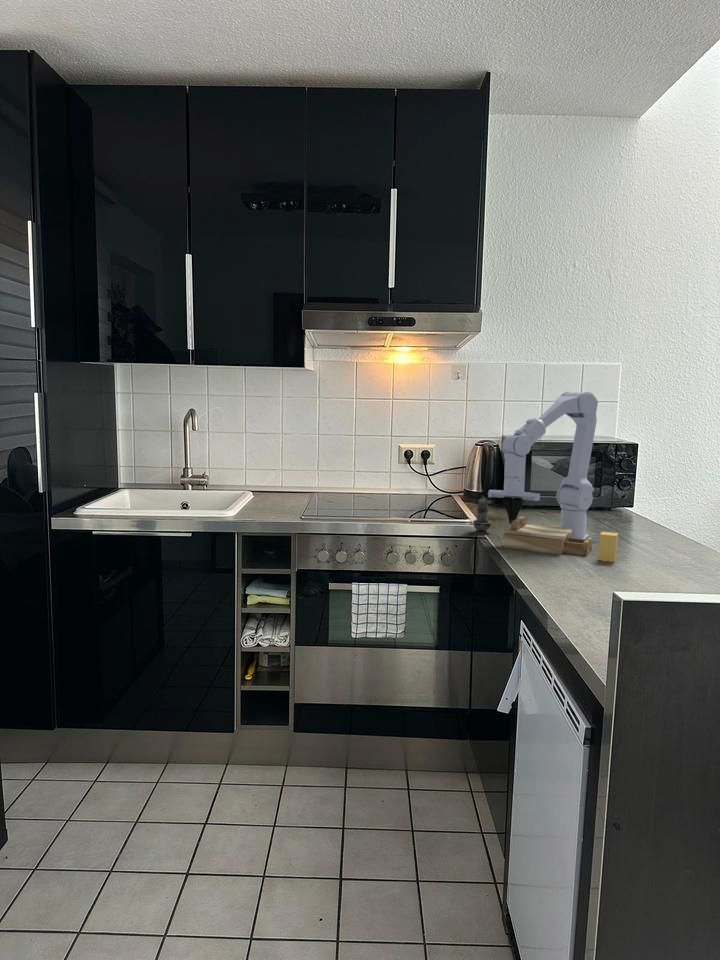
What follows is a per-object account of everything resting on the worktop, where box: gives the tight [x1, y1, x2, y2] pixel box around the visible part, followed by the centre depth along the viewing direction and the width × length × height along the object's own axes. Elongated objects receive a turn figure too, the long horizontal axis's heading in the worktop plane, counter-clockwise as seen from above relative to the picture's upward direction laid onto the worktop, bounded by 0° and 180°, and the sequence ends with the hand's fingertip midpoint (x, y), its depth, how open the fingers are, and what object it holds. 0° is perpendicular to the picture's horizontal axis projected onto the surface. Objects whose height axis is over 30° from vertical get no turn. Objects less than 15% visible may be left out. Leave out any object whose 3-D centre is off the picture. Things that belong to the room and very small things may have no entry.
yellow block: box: [598, 531, 619, 563], centre depth 172 cm, size 4×4×7 cm
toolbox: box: [502, 532, 593, 556], centre depth 185 cm, size 13×22×4 cm, turn 61°
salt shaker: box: [472, 495, 492, 536], centre depth 204 cm, size 6×6×12 cm
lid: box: [504, 515, 573, 540], centre depth 185 cm, size 13×16×3 cm
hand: (512, 523), depth 189 cm, fingers closed
